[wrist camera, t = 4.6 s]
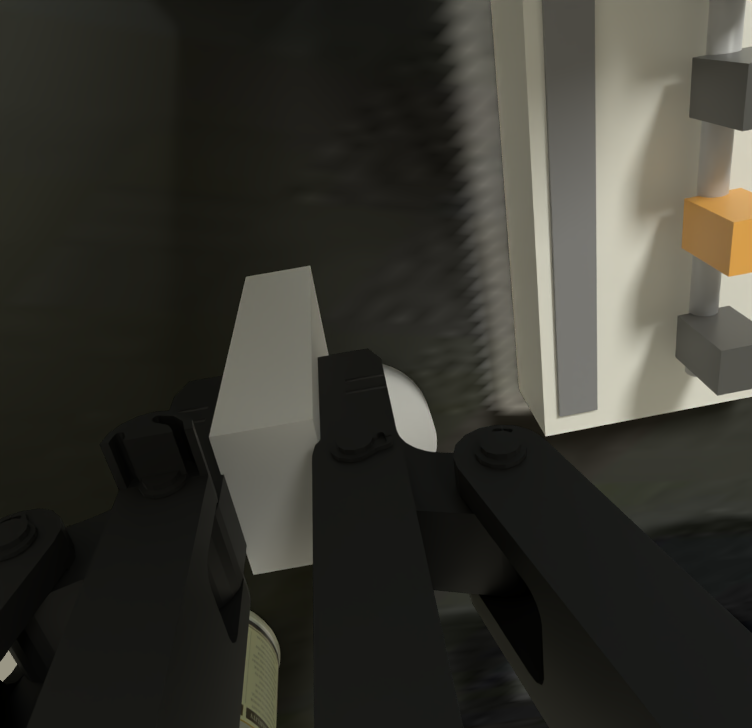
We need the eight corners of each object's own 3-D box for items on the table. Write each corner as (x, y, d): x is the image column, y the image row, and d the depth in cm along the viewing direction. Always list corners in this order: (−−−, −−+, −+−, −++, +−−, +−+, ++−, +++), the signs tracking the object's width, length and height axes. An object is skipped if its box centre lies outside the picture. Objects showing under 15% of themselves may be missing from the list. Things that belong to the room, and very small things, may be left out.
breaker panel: (476, -185, 21) (512, -227, 18) (839, -253, 21) (950, -310, 18) (519, 389, 32) (546, 439, 28) (762, 342, 32) (822, 385, 28)
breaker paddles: (695, -150, 19) (772, -182, 16) (764, -163, 19) (854, -198, 16) (668, 369, 27) (715, 415, 24) (716, 360, 27) (770, 405, 24)
